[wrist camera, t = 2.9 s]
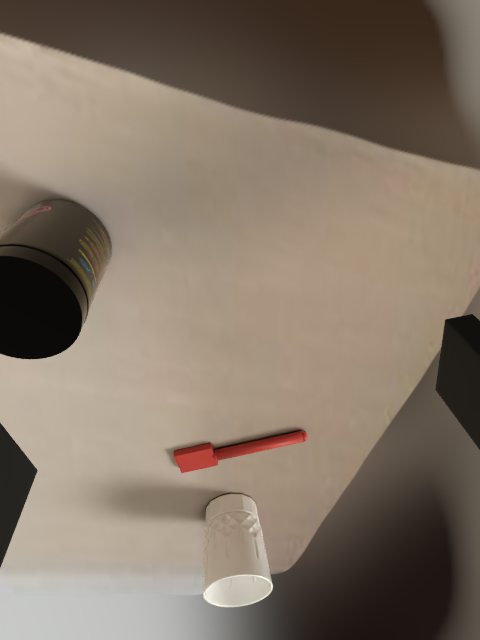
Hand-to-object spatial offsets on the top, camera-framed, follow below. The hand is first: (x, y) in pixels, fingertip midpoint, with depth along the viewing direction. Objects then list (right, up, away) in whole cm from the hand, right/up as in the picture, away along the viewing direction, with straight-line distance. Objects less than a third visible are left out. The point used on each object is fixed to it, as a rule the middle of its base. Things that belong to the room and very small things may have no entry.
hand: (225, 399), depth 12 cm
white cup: (-1, -23, +41) cm, 47 cm away
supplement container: (-13, +9, +19) cm, 24 cm away
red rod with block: (+1, -12, +34) cm, 36 cm away
